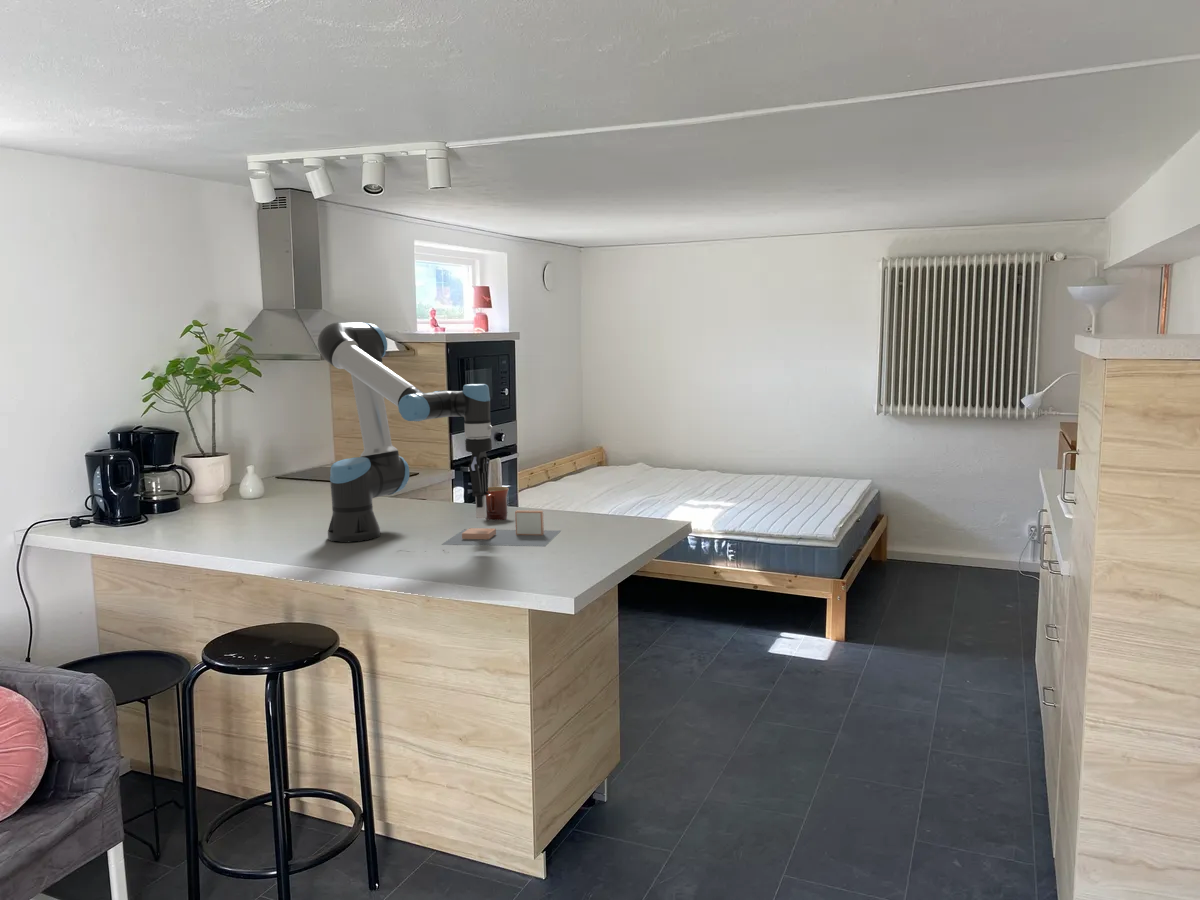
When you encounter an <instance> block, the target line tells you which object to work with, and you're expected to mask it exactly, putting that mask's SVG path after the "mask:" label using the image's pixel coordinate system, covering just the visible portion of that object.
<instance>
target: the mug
mask: <svg viewBox="0 0 1200 900" xmlns="http://www.w3.org/2000/svg"><path fill="white" fill-rule="evenodd" d="M488 492H489V495H486V511H487V517H486V518H484V519H485V520H486V521H505V520H506V519H508V502H507V500H508V493H509V487H507V486H488Z"/></svg>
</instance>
